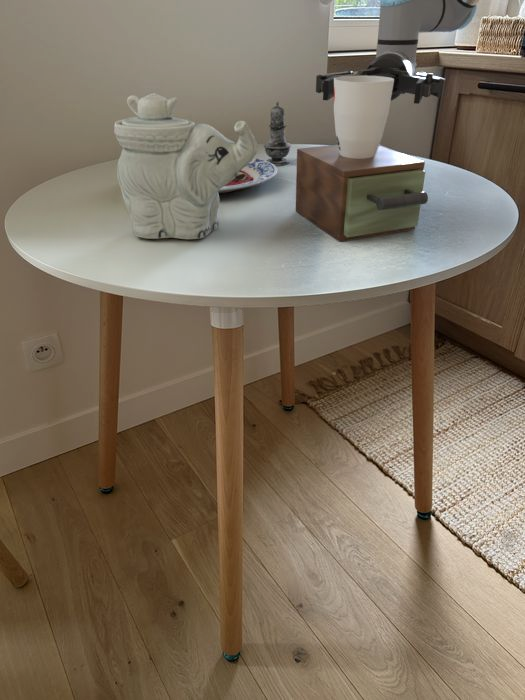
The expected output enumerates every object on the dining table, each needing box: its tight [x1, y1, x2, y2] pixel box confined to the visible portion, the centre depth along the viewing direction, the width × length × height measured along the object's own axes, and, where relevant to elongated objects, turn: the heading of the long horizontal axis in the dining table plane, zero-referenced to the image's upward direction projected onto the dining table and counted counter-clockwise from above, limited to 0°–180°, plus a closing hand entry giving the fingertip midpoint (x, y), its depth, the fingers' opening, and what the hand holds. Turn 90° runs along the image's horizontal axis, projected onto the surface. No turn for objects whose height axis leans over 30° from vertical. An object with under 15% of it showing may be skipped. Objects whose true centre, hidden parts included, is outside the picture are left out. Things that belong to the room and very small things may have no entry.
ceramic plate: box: [218, 157, 278, 194], centre depth 103 cm, size 26×26×3 cm
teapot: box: [113, 92, 258, 240], centre depth 76 cm, size 16×15×19 cm
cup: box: [333, 76, 394, 159], centre depth 77 cm, size 8×8×10 cm
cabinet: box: [295, 144, 426, 242], centre depth 82 cm, size 15×13×10 cm
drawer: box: [344, 169, 429, 237], centre depth 79 cm, size 18×12×8 cm, turn 22°
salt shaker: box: [263, 100, 292, 167], centre depth 113 cm, size 6×6×12 cm
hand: (370, 92), depth 80 cm, fingers open, 13 cm apart
